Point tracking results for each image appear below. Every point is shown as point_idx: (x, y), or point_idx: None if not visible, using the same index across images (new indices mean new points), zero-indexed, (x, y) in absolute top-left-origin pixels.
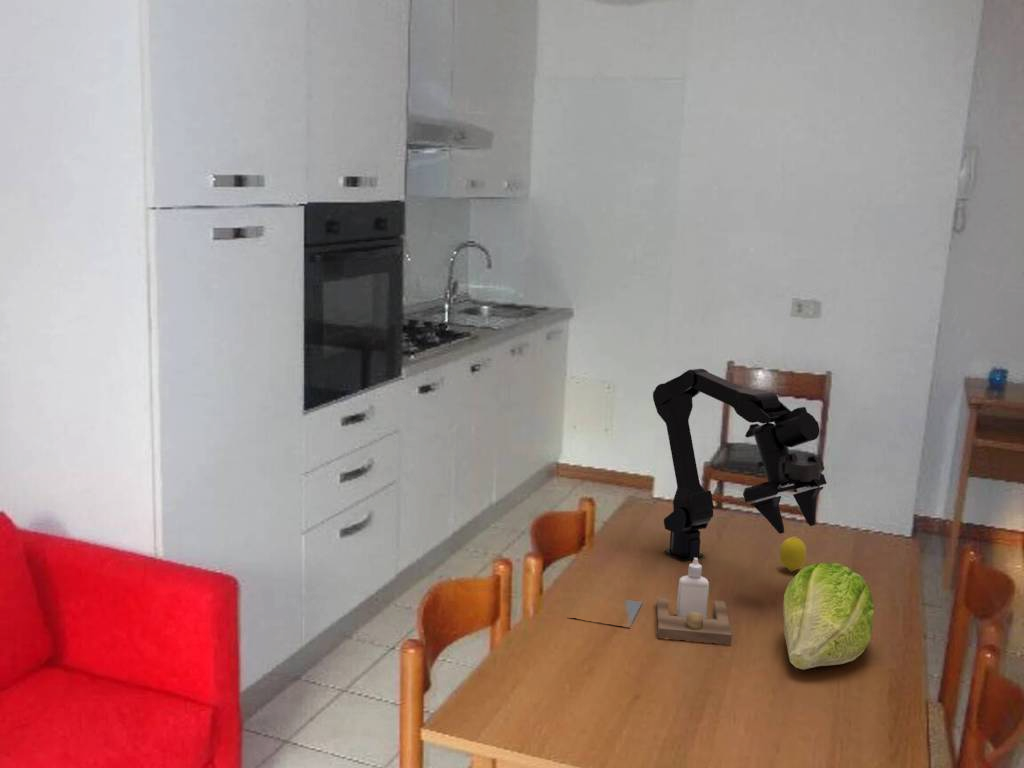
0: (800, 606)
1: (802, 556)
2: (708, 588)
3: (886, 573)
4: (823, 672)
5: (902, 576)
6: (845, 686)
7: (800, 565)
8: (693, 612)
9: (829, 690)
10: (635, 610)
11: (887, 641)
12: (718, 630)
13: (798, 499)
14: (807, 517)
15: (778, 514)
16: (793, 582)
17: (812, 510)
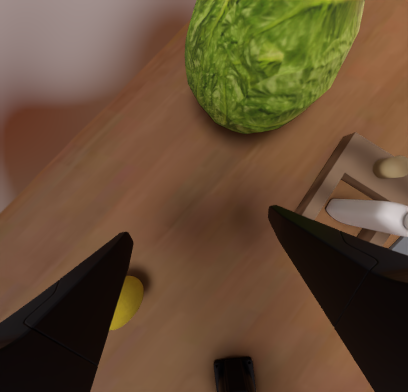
0: (359, 14)
1: None
2: (375, 201)
3: (21, 235)
4: None
5: (9, 220)
6: None
7: (126, 276)
8: (396, 175)
9: None
10: (398, 246)
11: (169, 83)
12: (362, 147)
13: (78, 389)
14: (121, 266)
15: (341, 237)
16: (337, 62)
17: (91, 267)
